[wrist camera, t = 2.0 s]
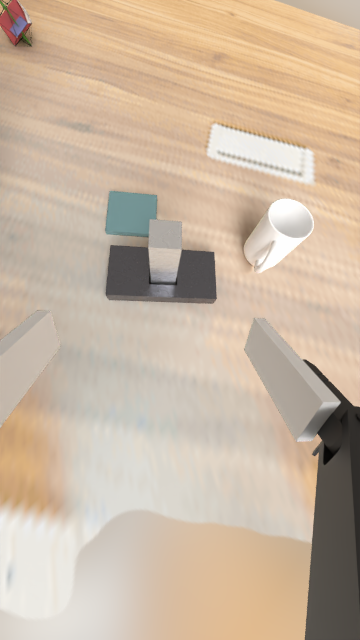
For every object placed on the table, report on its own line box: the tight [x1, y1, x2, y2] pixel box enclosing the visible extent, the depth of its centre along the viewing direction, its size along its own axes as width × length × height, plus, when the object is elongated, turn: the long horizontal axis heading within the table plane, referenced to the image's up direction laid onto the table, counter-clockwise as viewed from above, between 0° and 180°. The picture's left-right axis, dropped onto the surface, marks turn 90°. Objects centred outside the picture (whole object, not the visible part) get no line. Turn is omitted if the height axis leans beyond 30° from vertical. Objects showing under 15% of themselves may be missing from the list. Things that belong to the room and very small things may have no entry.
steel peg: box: [148, 219, 182, 285], centre depth 32 cm, size 4×4×13 cm
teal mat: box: [105, 191, 157, 237], centre depth 41 cm, size 10×10×1 cm
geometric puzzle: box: [0, 0, 32, 46], centre depth 48 cm, size 7×7×8 cm
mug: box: [244, 199, 314, 273], centre depth 37 cm, size 12×8×10 cm
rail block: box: [106, 245, 217, 304], centre depth 37 cm, size 20×10×2 cm, turn 90°
